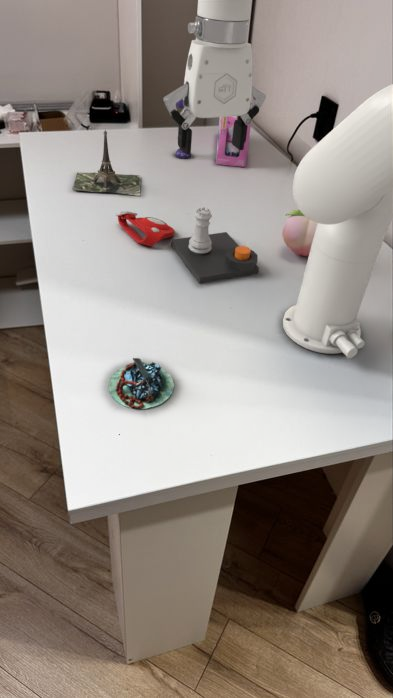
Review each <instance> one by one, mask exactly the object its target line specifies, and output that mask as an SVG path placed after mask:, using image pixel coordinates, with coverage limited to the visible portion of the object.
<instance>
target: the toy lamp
mask: <svg viewBox="0 0 393 698" xmlns="http://www.w3.org/2000/svg"><path fill="white" fill-rule="evenodd" d="M176 107H177V108H180V109H181V111H182V110H183V109H184V106H183V99H181V100H180V101H178V102H177V103H176ZM174 156H175V157H176V158H178V159H183V160H187V159H190V158H191V157H192V152H191V153H190V154H189V155H186V154H185V153H184V152H183V151H182V150H180V147H178V148H177V150H176V151H175V152H174Z"/></svg>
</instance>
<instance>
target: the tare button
mask: <svg viewBox="0 0 393 698" xmlns="http://www.w3.org/2000/svg"><path fill="white" fill-rule="evenodd" d="M251 250H252V249H250V247H247V246H245V245H239V246H238V247H236V249H235V258H237V259H239V260H248V259H249V258H250V252H251Z"/></svg>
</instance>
